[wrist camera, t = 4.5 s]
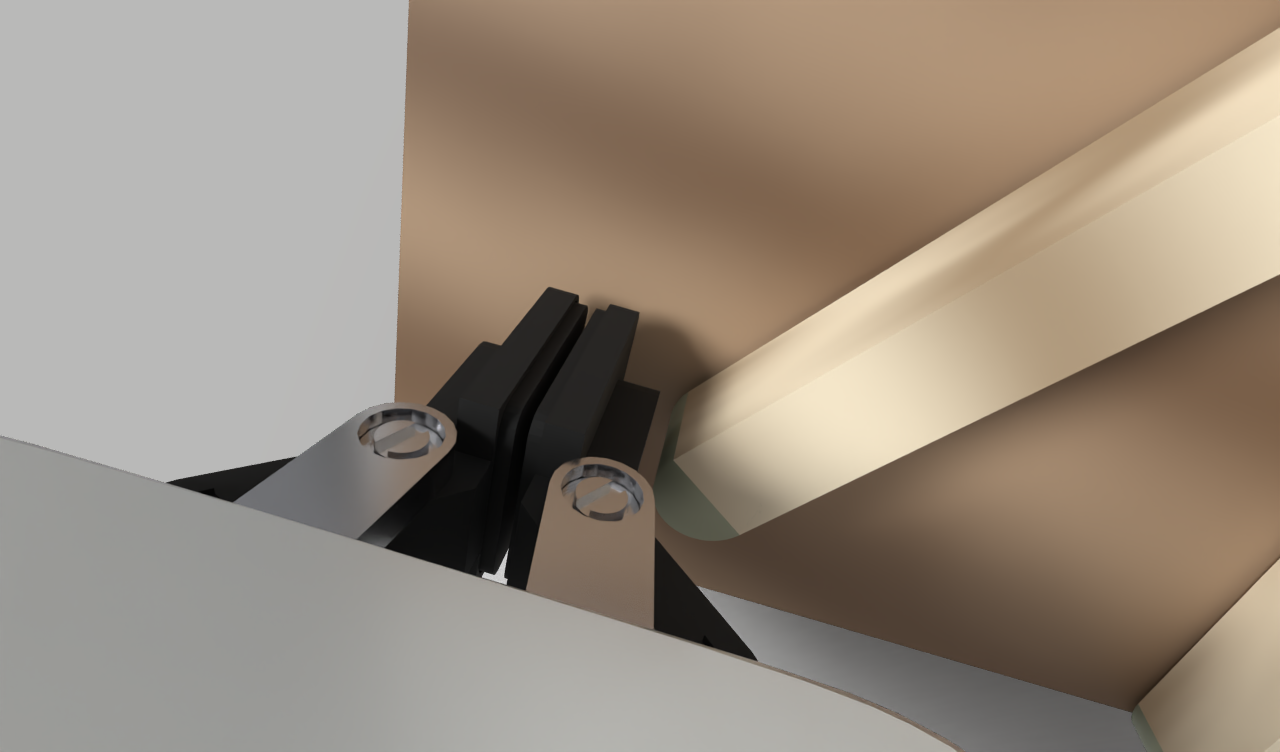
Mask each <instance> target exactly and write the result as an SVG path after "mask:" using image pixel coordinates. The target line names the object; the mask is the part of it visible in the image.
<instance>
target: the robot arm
mask: <svg viewBox="0 0 1280 752" xmlns="http://www.w3.org/2000/svg"><path fill="white" fill-rule="evenodd" d="M587 313H588V306H587V305H583V304H580V303H579V295H577V294H574V293H570V292H567V291H563V290H559V289H556V288H552V287H548V288H547V289H546V290H545V291H544V293H543V294H542V295H541V296H540V298H539V299H538V300H537V301H536V303H535V304H534V305H533V306H532V308H531V309H530V310H529V311H528V313H527V314H526V315H525V316H524V317H523V319H522V320H521V321H520V322H519V324H518V325H517V326H516V327H515V329H514V330H513V331H512V332H511V334H510V335H509V336H508V337H507V339H506V340H505V341H504V342H503V344H502V345H497V344H494V343H490V342H487V341H483V342H482V343H480V344H479V345H478V346H477V348H476V349H475V350H474V351H473V352H472V353H471V354H470V356H469V357H468V358H467V359H466V360H465V361H464V362H463V364H462V365H461V366H460V367H459V368H458V369H457V371H456V372H455V373H454V374H453V375H452V376H451V377H450V379H449V380H448V381H447V382H446V383H445V384H444V386H443V387H442V388H441V389H440V390H439V391H438V392H437V394H436V395H435V396H434V397H433V398H432V399H431V400H430V402H429V403H428V404H427V405H426V406H425V405H421V404H417V403H406V402H396V403H384V404H381V405H377V406H373V407H370V408H368V409H366V410H364V411H362V412H360V413H358V414H356V415H355V416H354V417H352V418H351V419H350V420H348V421H347V422H345V423H344V424H343V425H341V426H340V427H338V428H337V429H335V430H334V431H333V432H331V433H330V434H328V435H327V436H326V437H324V438H323V439H321V440H320V441H319V442H317V443H316V444H314V445H313V446H312V447H310V448H309V449H307V450H306V451H305V452H303V453H302V454H300V455H299V456H297V457H292V458H287V459H282V460H276V461H272V462H266V463H261V464H256V465H251V466H245V467H240V468H235V469H230V470H224V471H219V472H214V473H209V474H204V475H198V476H194V477H188V478H183V479H178V480H174V481H170V482H167V483H164V482H161V481H158V480H154V479H151V478H147V477H144V476H140V475H137V474H134V473H130V472H127V471H124V470H120V469H117V468H113V467H110V466H107V465H103V464H100V463H96V462H93V461H89V460H86V459H83V458H79V457H76V456H73V455H69V454H66V453H63V452H59V451H56V450H52V449H49V448H46V447H42V446H39V445H35V444H31V443H27V442H24V441H20V440H16V439H12V438H8V437H5V436H0V752H966V751H964V750H963V749H961V748H960V747H958V746H957V745H955V744H953V743H952V742H950V741H949V740H947V739H946V738H944V737H942V736H940V735H938V734H936V733H934V732H932V731H931V730H929V729H927V728H925V727H923V726H921V725H919V724H917V723H915V722H913V721H911V720H910V719H908V718H906V717H904V716H902V715H900V714H898V713H896V712H894V711H891V710H889V709H887V708H884V707H882V706H879V705H877V704H875V703H872V702H870V701H867V700H865V699H863V698H860V697H858V696H856V695H853V694H851V693H848V692H846V691H843V690H840V689H837V688H834V687H831V686H828V685H825V684H822V683H819V682H816V681H813V680H810V679H807V678H804V677H801V676H798V675H795V674H793V673H790V672H787V671H784V670H781V669H778V668H775V667H772V666H769V665H766V664H763V663H760V662H758V661H757V659H756V657H755V656H754V654H753V653H752V651H751V650H750V649H749V648H748V647H747V645H746V644H745V643H744V642H743V641H742V640H741V638H740V637H739V636H738V635H737V634H736V632H735V631H734V630H733V629H732V628H731V626H730V625H729V624H728V623H727V622H726V621H725V619H724V618H723V617H722V616H721V615H720V613H719V612H718V611H717V610H716V609H715V607H714V606H713V605H712V604H711V603H710V602H709V600H708V599H707V598H706V597H705V596H704V594H703V593H702V592H701V591H700V590H699V588H698V587H697V586H696V585H695V584H694V583H693V581H692V580H691V579H690V578H689V577H688V575H687V574H686V573H685V572H684V571H683V569H682V568H681V567H680V566H679V565H678V564H677V562H676V561H675V560H674V559H673V558H672V556H671V555H670V554H669V553H668V552H667V550H666V549H665V548H664V547H663V546H662V545H661V543H660V542H659V541H658V540H657V539H656V537H655V499H654V494H653V490H652V488H651V487H650V485H649V484H648V482H647V480H646V479H645V478H644V477H643V476H641V475H640V474H639V473H638V469H639V466H640V462H641V459H642V455H643V452H644V448H645V445H646V441H647V438H648V434H649V431H650V427H651V423H652V420H653V416H654V413H655V409H656V406H657V402H658V399H659V395H660V391H658V390H655V389H651V388H648V387H644V386H641V385H637V384H634V383H630V382H627V381H624V377H625V373H626V368H627V364H628V360H629V356H630V352H631V348H632V344H633V340H634V336H635V332H636V328H637V324H638V319H639V314H640V312H638V311H634V310H631V309H627V308H623V307H620V306H616V305H613V304H610V305H609V306H608V308H607V310H606V311H605V310H601V309H597V308H596V310H595V311H594V313H593V315H592V316H591V318H590V320H589V322H588V323H587V325H586V327H585V323H586V319H587ZM508 548H509V550H508ZM507 550H508V556H507V562H506V568H505V574H504V577H505V578H506V579H508V580H507V585H505V584H502V583H498V582H495V581H492V580H488V579H485V578H482V575H483V573H484V572H486V573H490V574H493V575H495V574H496V572H497V571H498V569H499V567H500V565H501V563H502V561H503V559H504V557H505V554H506V552H507Z"/></svg>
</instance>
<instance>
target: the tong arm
mask: <svg viewBox="0 0 1280 752" xmlns="http://www.w3.org/2000/svg"><path fill="white" fill-rule="evenodd" d="M1279 274H1280V28H1278V29H1277V30H1275V31H1273V32H1272V33H1270V34H1268V35H1267V36H1265V37H1264V38H1262V39H1260V40H1259V41H1257V42H1255V43H1254V44H1252V45H1251V46H1249V47H1247V48H1246V49H1244V50H1242V51H1241V52H1239V53H1238V54H1236V55H1234V56H1233V57H1231V58H1229V59H1228V60H1226V61H1225V62H1223V63H1221V64H1220V65H1218V66H1216V67H1215V68H1213V69H1212V70H1210V71H1208V72H1207V73H1205V74H1203V75H1202V76H1200V77H1199V78H1197V79H1195V80H1194V81H1192V82H1190V83H1189V84H1187V85H1186V86H1184V87H1182V88H1181V89H1179V90H1178V91H1176V92H1174V93H1173V94H1171V95H1169V96H1168V97H1166V98H1165V99H1163V100H1161V101H1160V102H1158V103H1156V104H1155V105H1153V106H1152V107H1150V108H1148V109H1147V110H1145V111H1143V112H1142V113H1140V114H1139V115H1137V116H1135V117H1134V118H1132V119H1130V120H1129V121H1127V122H1126V123H1124V124H1122V125H1121V126H1119V127H1117V128H1116V129H1114V130H1113V131H1111V132H1109V133H1108V134H1106V135H1104V136H1103V137H1101V138H1100V139H1098V140H1096V141H1095V142H1093V143H1091V144H1090V145H1088V146H1087V147H1085V148H1083V149H1082V150H1080V151H1078V152H1077V153H1075V154H1074V155H1072V156H1070V157H1069V158H1067V159H1065V160H1064V161H1062V162H1061V163H1059V164H1057V165H1056V166H1054V167H1052V168H1051V169H1049V170H1048V171H1046V172H1044V173H1043V174H1041V175H1039V176H1038V177H1036V178H1035V179H1033V180H1031V181H1030V182H1028V183H1026V184H1025V185H1023V186H1022V187H1020V188H1018V189H1017V190H1015V191H1013V192H1012V193H1010V194H1009V195H1007V196H1005V197H1004V198H1002V199H1001V200H999V201H997V202H996V203H994V204H992V205H991V206H989V207H988V208H986V209H984V210H983V211H981V212H979V213H978V214H976V215H975V216H973V217H971V218H970V219H968V220H966V221H965V222H963V223H962V224H960V225H958V226H957V227H955V228H953V229H952V230H950V231H949V232H947V233H945V234H944V235H942V236H940V237H939V238H937V239H936V240H934V241H932V242H931V243H929V244H927V245H926V246H924V247H923V248H921V249H919V250H918V251H916V252H914V253H913V254H911V255H910V256H908V257H906V258H905V259H903V260H901V261H900V262H898V263H897V264H895V265H893V266H892V267H890V268H888V269H887V270H885V271H884V272H882V273H880V274H879V275H877V276H875V277H874V278H872V279H871V280H869V281H867V282H866V283H864V284H862V285H861V286H859V287H858V288H856V289H854V290H853V291H851V292H849V293H848V294H846V295H845V296H843V297H841V298H840V299H838V300H836V301H835V302H833V303H832V304H830V305H828V306H827V307H825V308H823V309H822V310H820V311H819V312H817V313H815V314H814V315H812V316H811V317H809V318H807V319H806V320H804V321H802V322H801V323H799V324H798V325H796V326H794V327H793V328H791V329H789V330H788V331H786V332H785V333H783V334H781V335H780V336H778V337H776V338H775V339H773V340H772V341H770V342H768V343H767V344H765V345H763V346H762V347H760V348H759V349H757V350H755V351H754V352H752V353H750V354H749V355H747V356H746V357H744V358H742V359H741V360H739V361H737V362H736V363H734V364H733V365H731V366H729V367H728V368H726V369H724V370H723V371H721V372H720V373H718V374H716V375H715V376H713V377H711V378H710V379H708V380H707V381H705V382H703V383H702V384H700V385H698V386H697V387H695V388H694V389H692V390H690V391H689V392H687V393H686V394H684V395H683V396H682V397H681V398H680V399H679V400H678V401H677V403H676V404H675V406H674V408H673V410H672V413H671V417H670V421H669V425H668V429H667V433H666V437H665V441H664V445H663V449H662V453H661V457H660V461H659V465H658V469H657V473H656V477H655V481H654V485H653V494H654V499H655V507H656V509H657V511H658V513H659V514H660V516H661V517H662V519H663V520H664V521H665V522H666V523H667V524H668V525H669V526H671V527H672V528H673V529H675V530H676V531H678V532H680V533H682V534H684V535H686V536H689V537H691V538H695V539H699V540H706V541H721V540H727V539H730V538H734V537H736V536H739V535H741V534H743V533H745V532H747V531H749V530H751V529H753V528H755V527H757V526H760V525H762V524H764V523H766V522H768V521H770V520H772V519H774V518H776V517H778V516H780V515H782V514H784V513H786V512H789V511H791V510H793V509H795V508H797V507H799V506H801V505H803V504H805V503H807V502H809V501H811V500H813V499H815V498H818V497H820V496H822V495H824V494H826V493H828V492H830V491H832V490H834V489H836V488H838V487H840V486H842V485H844V484H847V483H849V482H851V481H853V480H855V479H857V478H859V477H861V476H863V475H865V474H867V473H869V472H871V471H873V470H875V469H878V468H880V467H882V466H884V465H886V464H888V463H890V462H892V461H894V460H896V459H898V458H900V457H902V456H904V455H907V454H909V453H911V452H913V451H915V450H917V449H919V448H921V447H923V446H925V445H927V444H929V443H931V442H933V441H936V440H938V439H940V438H942V437H944V436H946V435H948V434H950V433H952V432H954V431H956V430H958V429H960V428H962V427H965V426H967V425H969V424H971V423H973V422H975V421H977V420H979V419H981V418H983V417H985V416H987V415H989V414H991V413H994V412H996V411H998V410H1000V409H1002V408H1004V407H1006V406H1008V405H1010V404H1012V403H1014V402H1016V401H1018V400H1020V399H1022V398H1025V397H1027V396H1029V395H1031V394H1033V393H1035V392H1037V391H1039V390H1041V389H1043V388H1045V387H1047V386H1049V385H1051V384H1054V383H1056V382H1058V381H1060V380H1062V379H1064V378H1066V377H1068V376H1070V375H1072V374H1074V373H1076V372H1078V371H1080V370H1083V369H1085V368H1087V367H1089V366H1091V365H1093V364H1095V363H1097V362H1099V361H1101V360H1103V359H1105V358H1107V357H1109V356H1112V355H1114V354H1116V353H1118V352H1120V351H1122V350H1124V349H1126V348H1128V347H1130V346H1132V345H1134V344H1136V343H1138V342H1140V341H1143V340H1145V339H1147V338H1149V337H1151V336H1153V335H1155V334H1157V333H1159V332H1161V331H1163V330H1165V329H1167V328H1169V327H1172V326H1174V325H1176V324H1178V323H1180V322H1182V321H1184V320H1186V319H1188V318H1190V317H1192V316H1194V315H1196V314H1198V313H1201V312H1203V311H1205V310H1207V309H1209V308H1211V307H1213V306H1215V305H1217V304H1219V303H1221V302H1223V301H1225V300H1227V299H1230V298H1232V297H1234V296H1236V295H1238V294H1240V293H1242V292H1244V291H1246V290H1248V289H1250V288H1252V287H1254V286H1256V285H1258V284H1261V283H1263V282H1265V281H1267V280H1269V279H1271V278H1273V277H1275V276H1277V275H1279Z"/></svg>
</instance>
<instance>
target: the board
mask: <svg viewBox="0 0 1280 752" xmlns="http://www.w3.org/2000/svg"><path fill="white" fill-rule="evenodd" d="M1278 28H1280V0H409V17H408V43H407V71H406V72H407V73H406V99H405V127H404V154H403V183H402V209H401V236H400V237H401V238H400V264H399V265H400V266H399V294H398V319H397V320H398V321H397V347H396V374H395V402H394V403H396V402H406V403H417V404H421V405H425V406H426V405H427V404H428V403H429V402H430V400H431V399H432V398H433V397H434V396H435V395H436V394H437V392H438V391H439V390H440V389H441V388H442V387H443V386H444V384H445V383H446V382H447V381H448V380H449V379H450V377H451V376H452V375H453V374H454V373H455V372H456V371H457V369H458V368H459V367H460V366H461V365H462V364H463V362H464V361H465V360H466V359H467V358H468V357H469V356H470V354H471V353H472V352H473V351H474V350H475V349H476V348H477V346H478V345H479V344H480V343H482V342H483V341H487V342H490V343H494V344H497V345H502V344H503V342H504V341H505V340H506V339H507V337H508V336H509V335H510V334H511V332H512V331H513V330H514V329H515V327H516V326H517V325H518V324H519V322H520V321H521V320H522V319H523V317H524V316H525V315H526V314H527V313H528V311H529V310H530V309H531V308H532V306H533V305H534V304H535V303H536V301H537V300H538V299H539V298H540V296H541V295H542V294H543V293H544V291H545V290H546V289H547V288H548V287H552V288H556V289H559V290H563V291H567V292H570V293H574V294H577V295H579V303H580V304H583V305H587V306H588V313H587V319H586V323H585V327H586V325H587V323H588V322H589V320H590V318H591V316H592V315H593V313H594V311H595V310H596V308H597V309H601V310H605V311H606V310H607V308H608V306H609V305H610V304H613V305H616V306H620V307H623V308H627V309H631V310H634V311H638V312H640V314H639V319H638V324H637V328H636V332H635V336H634V340H633V344H632V348H631V352H630V356H629V360H628V364H627V368H626V373H625V377H624V381H627V382H630V383H634V384H637V385H641V386H644V387H648V388H651V389H655V390H658V391H660V395H659V399H658V402H657V406H656V409H655V413H654V416H653V420H652V423H651V427H650V431H649V434H648V438H647V441H646V445H645V448H644V452H643V455H642V459H641V462H640V466H639V469H638V473H639V474H640V475H641V476H643V477H644V478H645V479H646V480H647V482H648V484H649V485H650V487H651V488H652V490H653V485H654V481H655V477H656V473H657V469H658V465H659V461H660V457H661V453H662V449H663V445H664V441H665V437H666V433H667V429H668V425H669V421H670V417H671V413H672V410H673V408H674V406H675V404H676V403H677V401H678V400H679V399H680V398H681V397H682V396H683V395H684V394H686V393H687V392H689V391H690V390H692V389H694V388H695V387H697V386H698V385H700V384H702V383H703V382H705V381H707V380H708V379H710V378H711V377H713V376H715V375H716V374H718V373H720V372H721V371H723V370H724V369H726V368H728V367H729V366H731V365H733V364H734V363H736V362H737V361H739V360H741V359H742V358H744V357H746V356H747V355H749V354H750V353H752V352H754V351H755V350H757V349H759V348H760V347H762V346H763V345H765V344H767V343H768V342H770V341H772V340H773V339H775V338H776V337H778V336H780V335H781V334H783V333H785V332H786V331H788V330H789V329H791V328H793V327H794V326H796V325H798V324H799V323H801V322H802V321H804V320H806V319H807V318H809V317H811V316H812V315H814V314H815V313H817V312H819V311H820V310H822V309H823V308H825V307H827V306H828V305H830V304H832V303H833V302H835V301H836V300H838V299H840V298H841V297H843V296H845V295H846V294H848V293H849V292H851V291H853V290H854V289H856V288H858V287H859V286H861V285H862V284H864V283H866V282H867V281H869V280H871V279H872V278H874V277H875V276H877V275H879V274H880V273H882V272H884V271H885V270H887V269H888V268H890V267H892V266H893V265H895V264H897V263H898V262H900V261H901V260H903V259H905V258H906V257H908V256H910V255H911V254H913V253H914V252H916V251H918V250H919V249H921V248H923V247H924V246H926V245H927V244H929V243H931V242H932V241H934V240H936V239H937V238H939V237H940V236H942V235H944V234H945V233H947V232H949V231H950V230H952V229H953V228H955V227H957V226H958V225H960V224H962V223H963V222H965V221H966V220H968V219H970V218H971V217H973V216H975V215H976V214H978V213H979V212H981V211H983V210H984V209H986V208H988V207H989V206H991V205H992V204H994V203H996V202H997V201H999V200H1001V199H1002V198H1004V197H1005V196H1007V195H1009V194H1010V193H1012V192H1013V191H1015V190H1017V189H1018V188H1020V187H1022V186H1023V185H1025V184H1026V183H1028V182H1030V181H1031V180H1033V179H1035V178H1036V177H1038V176H1039V175H1041V174H1043V173H1044V172H1046V171H1048V170H1049V169H1051V168H1052V167H1054V166H1056V165H1057V164H1059V163H1061V162H1062V161H1064V160H1065V159H1067V158H1069V157H1070V156H1072V155H1074V154H1075V153H1077V152H1078V151H1080V150H1082V149H1083V148H1085V147H1087V146H1088V145H1090V144H1091V143H1093V142H1095V141H1096V140H1098V139H1100V138H1101V137H1103V136H1104V135H1106V134H1108V133H1109V132H1111V131H1113V130H1114V129H1116V128H1117V127H1119V126H1121V125H1122V124H1124V123H1126V122H1127V121H1129V120H1130V119H1132V118H1134V117H1135V116H1137V115H1139V114H1140V113H1142V112H1143V111H1145V110H1147V109H1148V108H1150V107H1152V106H1153V105H1155V104H1156V103H1158V102H1160V101H1161V100H1163V99H1165V98H1166V97H1168V96H1169V95H1171V94H1173V93H1174V92H1176V91H1178V90H1179V89H1181V88H1182V87H1184V86H1186V85H1187V84H1189V83H1190V82H1192V81H1194V80H1195V79H1197V78H1199V77H1200V76H1202V75H1203V74H1205V73H1207V72H1208V71H1210V70H1212V69H1213V68H1215V67H1216V66H1218V65H1220V64H1221V63H1223V62H1225V61H1226V60H1228V59H1229V58H1231V57H1233V56H1234V55H1236V54H1238V53H1239V52H1241V51H1242V50H1244V49H1246V48H1247V47H1249V46H1251V45H1252V44H1254V43H1255V42H1257V41H1259V40H1260V39H1262V38H1264V37H1265V36H1267V35H1268V34H1270V33H1272V32H1273V31H1275V30H1277V29H1278ZM655 537H656V539H657V540H658V541H659V542H660V543H661V545H662V546H663V547H664V548H665V549H666V550H667V552H668V553H669V554H670V555H671V556H672V558H673V559H674V560H675V561H676V562H677V564H678V565H679V566H680V567H681V568H682V569H683V571H684V572H685V573H686V574H687V575H688V577H689V578H690V579H691V580H692V581H693V583H694V584H695V585H697V586H700V587H704V588H707V589H710V590H714V591H717V592H721V593H724V594H728V595H731V596H734V597H738V598H741V599H745V600H748V601H752V602H755V603H758V604H762V605H765V606H769V607H772V608H776V609H779V610H782V611H786V612H789V613H793V614H796V615H800V616H803V617H806V618H810V619H813V620H817V621H820V622H823V623H827V624H830V625H834V626H837V627H841V628H844V629H847V630H851V631H854V632H858V633H861V634H865V635H868V636H871V637H875V638H878V639H882V640H885V641H889V642H892V643H895V644H899V645H902V646H906V647H909V648H913V649H916V650H919V651H923V652H926V653H930V654H933V655H937V656H940V657H943V658H947V659H950V660H954V661H957V662H961V663H964V664H967V665H971V666H974V667H978V668H981V669H985V670H988V671H991V672H995V673H998V674H1002V675H1005V676H1009V677H1012V678H1015V679H1019V680H1022V681H1026V682H1029V683H1033V684H1036V685H1039V686H1043V687H1046V688H1050V689H1053V690H1057V691H1060V692H1063V693H1067V694H1070V695H1074V696H1077V697H1081V698H1084V699H1087V700H1091V701H1094V702H1098V703H1101V704H1105V705H1108V706H1111V707H1115V708H1118V709H1122V710H1125V711H1129V712H1132V713H1133V710H1134V708H1135V707H1136V706H1137V704H1138V703H1139V702H1140V701H1141V700H1142V699H1143V698H1144V697H1145V696H1146V695H1147V694H1148V693H1149V692H1150V691H1151V690H1152V689H1153V688H1154V687H1155V686H1156V685H1157V684H1158V683H1159V682H1160V681H1161V680H1162V679H1163V678H1164V677H1165V676H1166V675H1167V674H1168V673H1169V672H1170V671H1171V669H1172V668H1173V667H1174V666H1175V665H1176V664H1177V663H1178V662H1179V661H1180V660H1181V659H1182V658H1183V657H1184V656H1185V655H1186V654H1187V653H1188V652H1189V651H1190V650H1191V649H1192V648H1193V647H1194V646H1195V645H1196V644H1197V643H1198V642H1199V641H1200V640H1201V639H1202V638H1203V637H1204V636H1205V635H1206V634H1207V633H1208V632H1209V630H1210V629H1211V628H1212V627H1213V626H1214V625H1215V624H1216V623H1217V622H1218V621H1219V620H1220V619H1221V618H1222V617H1223V616H1224V615H1225V614H1226V613H1227V612H1228V611H1229V610H1230V609H1231V608H1232V607H1233V606H1234V605H1235V604H1236V603H1237V602H1238V601H1239V600H1240V599H1241V598H1242V597H1243V596H1244V595H1245V594H1246V593H1247V592H1248V590H1249V589H1250V588H1251V587H1252V586H1253V585H1254V584H1255V583H1256V582H1257V581H1258V580H1259V579H1260V578H1261V577H1262V576H1263V575H1264V574H1265V573H1266V572H1267V571H1268V570H1269V569H1270V568H1271V567H1272V566H1273V565H1274V564H1275V563H1276V562H1277V561H1278V560H1279V559H1280V274H1279V275H1277V276H1275V277H1273V278H1271V279H1269V280H1267V281H1265V282H1263V283H1261V284H1258V285H1256V286H1254V287H1252V288H1250V289H1248V290H1246V291H1244V292H1242V293H1240V294H1238V295H1236V296H1234V297H1232V298H1230V299H1227V300H1225V301H1223V302H1221V303H1219V304H1217V305H1215V306H1213V307H1211V308H1209V309H1207V310H1205V311H1203V312H1201V313H1198V314H1196V315H1194V316H1192V317H1190V318H1188V319H1186V320H1184V321H1182V322H1180V323H1178V324H1176V325H1174V326H1172V327H1169V328H1167V329H1165V330H1163V331H1161V332H1159V333H1157V334H1155V335H1153V336H1151V337H1149V338H1147V339H1145V340H1143V341H1140V342H1138V343H1136V344H1134V345H1132V346H1130V347H1128V348H1126V349H1124V350H1122V351H1120V352H1118V353H1116V354H1114V355H1112V356H1109V357H1107V358H1105V359H1103V360H1101V361H1099V362H1097V363H1095V364H1093V365H1091V366H1089V367H1087V368H1085V369H1083V370H1080V371H1078V372H1076V373H1074V374H1072V375H1070V376H1068V377H1066V378H1064V379H1062V380H1060V381H1058V382H1056V383H1054V384H1051V385H1049V386H1047V387H1045V388H1043V389H1041V390H1039V391H1037V392H1035V393H1033V394H1031V395H1029V396H1027V397H1025V398H1022V399H1020V400H1018V401H1016V402H1014V403H1012V404H1010V405H1008V406H1006V407H1004V408H1002V409H1000V410H998V411H996V412H994V413H991V414H989V415H987V416H985V417H983V418H981V419H979V420H977V421H975V422H973V423H971V424H969V425H967V426H965V427H962V428H960V429H958V430H956V431H954V432H952V433H950V434H948V435H946V436H944V437H942V438H940V439H938V440H936V441H933V442H931V443H929V444H927V445H925V446H923V447H921V448H919V449H917V450H915V451H913V452H911V453H909V454H907V455H904V456H902V457H900V458H898V459H896V460H894V461H892V462H890V463H888V464H886V465H884V466H882V467H880V468H878V469H875V470H873V471H871V472H869V473H867V474H865V475H863V476H861V477H859V478H857V479H855V480H853V481H851V482H849V483H847V484H844V485H842V486H840V487H838V488H836V489H834V490H832V491H830V492H828V493H826V494H824V495H822V496H820V497H818V498H815V499H813V500H811V501H809V502H807V503H805V504H803V505H801V506H799V507H797V508H795V509H793V510H791V511H789V512H786V513H784V514H782V515H780V516H778V517H776V518H774V519H772V520H770V521H768V522H766V523H764V524H762V525H760V526H757V527H755V528H753V529H751V530H749V531H747V532H745V533H743V534H741V535H739V536H736V537H734V538H730V539H727V540H721V541H706V540H699V539H695V538H691V537H689V536H686V535H684V534H682V533H680V532H678V531H676V530H675V529H673V528H672V527H671V526H669V525H668V524H667V523H666V522H665V521H664V520H663V519H662V517H661V516H660V514H659V513H658V511H657V509H656V507H655Z"/></svg>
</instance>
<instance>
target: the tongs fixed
mask: <svg viewBox="0 0 1280 752" xmlns="http://www.w3.org/2000/svg"><path fill="white" fill-rule="evenodd" d="M1132 723H1133V725H1134V727H1135V729H1136V731H1137V733H1138V735H1139V737H1140V739H1141V741H1142V743H1143V745H1144V747H1145V749H1146V751H1147V752H1280V559H1279V560H1278V561H1277V562H1276V563H1275V564H1274V565H1273V566H1272V567H1271V568H1270V569H1269V570H1268V571H1267V572H1266V573H1265V574H1264V575H1263V576H1262V577H1261V578H1260V579H1259V580H1258V581H1257V582H1256V583H1255V584H1254V585H1253V586H1252V587H1251V588H1250V589H1249V590H1248V592H1247V593H1246V594H1245V595H1244V596H1243V597H1242V598H1241V599H1240V600H1239V601H1238V602H1237V603H1236V604H1235V605H1234V606H1233V607H1232V608H1231V609H1230V610H1229V611H1228V612H1227V613H1226V614H1225V615H1224V616H1223V617H1222V618H1221V619H1220V620H1219V621H1218V622H1217V623H1216V624H1215V625H1214V626H1213V627H1212V628H1211V629H1210V630H1209V632H1208V633H1207V634H1206V635H1205V636H1204V637H1203V638H1202V639H1201V640H1200V641H1199V642H1198V643H1197V644H1196V645H1195V646H1194V647H1193V648H1192V649H1191V650H1190V651H1189V652H1188V653H1187V654H1186V655H1185V656H1184V657H1183V658H1182V659H1181V660H1180V661H1179V662H1178V663H1177V664H1176V665H1175V666H1174V667H1173V668H1172V669H1171V671H1170V672H1169V673H1168V674H1167V675H1166V676H1165V677H1164V678H1163V679H1162V680H1161V681H1160V682H1159V683H1158V684H1157V685H1156V686H1155V687H1154V688H1153V689H1152V690H1151V691H1150V692H1149V693H1148V694H1147V695H1146V696H1145V697H1144V698H1143V699H1142V700H1141V701H1140V702H1139V703H1138V704H1137V706H1136V707H1135V708H1134V710H1133V713H1132Z"/></svg>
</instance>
